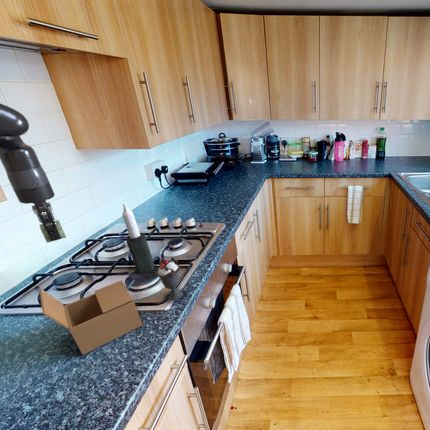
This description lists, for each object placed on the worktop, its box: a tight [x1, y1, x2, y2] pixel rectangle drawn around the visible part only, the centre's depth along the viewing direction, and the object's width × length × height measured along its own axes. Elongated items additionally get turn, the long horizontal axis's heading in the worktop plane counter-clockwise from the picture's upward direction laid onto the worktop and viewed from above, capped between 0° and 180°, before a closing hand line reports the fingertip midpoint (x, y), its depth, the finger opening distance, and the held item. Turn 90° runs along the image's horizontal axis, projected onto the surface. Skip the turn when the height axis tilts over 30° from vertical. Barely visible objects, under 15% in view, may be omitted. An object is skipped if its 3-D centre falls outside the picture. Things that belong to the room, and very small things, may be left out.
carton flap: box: [39, 288, 69, 329], centre depth 66 cm, size 6×11×1 cm
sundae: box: [154, 257, 184, 302], centre depth 84 cm, size 7×7×15 cm
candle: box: [122, 203, 155, 275], centre depth 94 cm, size 5×5×25 cm
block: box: [38, 219, 67, 244], centre depth 86 cm, size 4×4×4 cm
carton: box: [63, 279, 144, 356], centre depth 74 cm, size 13×11×9 cm
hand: (55, 236), depth 87 cm, fingers closed on block, 4 cm apart
